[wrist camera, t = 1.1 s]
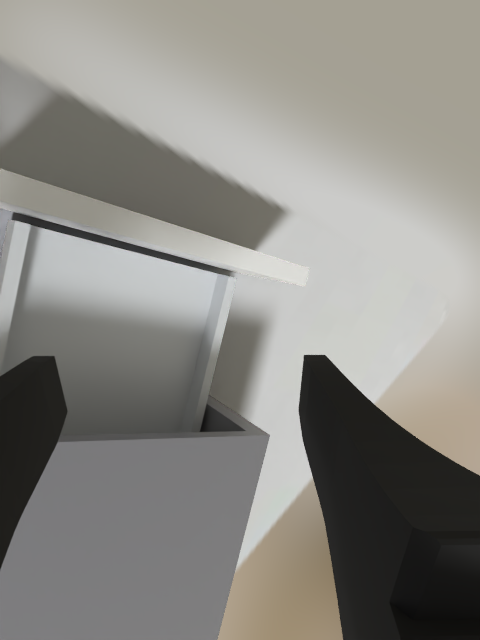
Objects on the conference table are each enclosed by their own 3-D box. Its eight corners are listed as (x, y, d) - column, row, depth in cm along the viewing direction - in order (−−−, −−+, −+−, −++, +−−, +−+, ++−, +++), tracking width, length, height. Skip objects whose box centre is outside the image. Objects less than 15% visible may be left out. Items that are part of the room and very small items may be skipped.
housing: (-121, 664, 20) (-139, 820, 15) (-67, 382, 19) (-66, 446, 14) (160, 586, 29) (210, 667, 24) (207, 394, 28) (270, 435, 23)
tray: (-85, 475, 19) (-89, 563, 14) (-28, 176, 18) (-12, 164, 13) (195, 457, 28) (248, 506, 23) (243, 258, 27) (310, 268, 22)
